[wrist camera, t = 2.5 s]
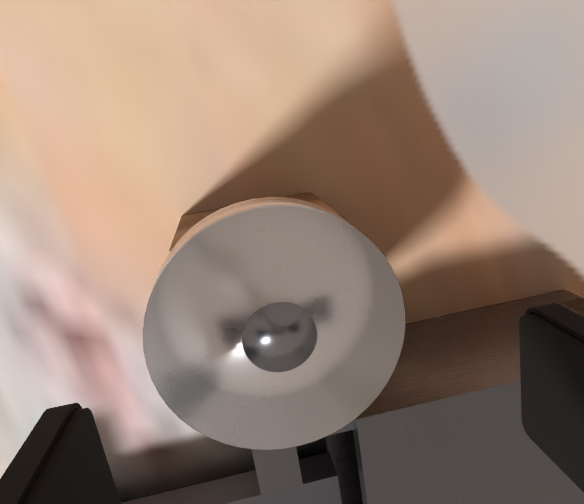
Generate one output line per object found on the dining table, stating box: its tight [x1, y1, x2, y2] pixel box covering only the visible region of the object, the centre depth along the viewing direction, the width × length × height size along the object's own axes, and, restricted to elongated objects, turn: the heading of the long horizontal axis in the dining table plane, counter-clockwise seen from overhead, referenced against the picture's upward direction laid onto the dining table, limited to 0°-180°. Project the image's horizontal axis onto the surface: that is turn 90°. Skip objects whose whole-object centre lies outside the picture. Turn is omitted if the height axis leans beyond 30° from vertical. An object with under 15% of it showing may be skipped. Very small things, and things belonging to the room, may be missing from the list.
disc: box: [143, 197, 405, 450], centre depth 13 cm, size 7×7×2 cm
